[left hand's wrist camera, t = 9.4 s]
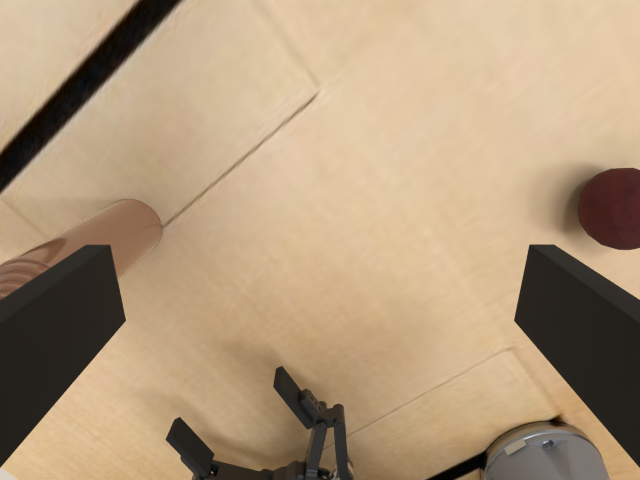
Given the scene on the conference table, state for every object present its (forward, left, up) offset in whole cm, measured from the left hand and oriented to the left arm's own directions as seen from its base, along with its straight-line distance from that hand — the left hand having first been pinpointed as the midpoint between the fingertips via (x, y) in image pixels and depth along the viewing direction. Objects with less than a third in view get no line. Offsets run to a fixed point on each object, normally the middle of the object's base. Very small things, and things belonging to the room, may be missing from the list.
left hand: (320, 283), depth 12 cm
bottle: (+7, -20, -28) cm, 35 cm away
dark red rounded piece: (+6, +28, -28) cm, 40 cm away
